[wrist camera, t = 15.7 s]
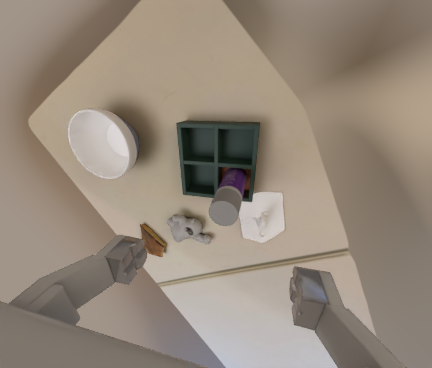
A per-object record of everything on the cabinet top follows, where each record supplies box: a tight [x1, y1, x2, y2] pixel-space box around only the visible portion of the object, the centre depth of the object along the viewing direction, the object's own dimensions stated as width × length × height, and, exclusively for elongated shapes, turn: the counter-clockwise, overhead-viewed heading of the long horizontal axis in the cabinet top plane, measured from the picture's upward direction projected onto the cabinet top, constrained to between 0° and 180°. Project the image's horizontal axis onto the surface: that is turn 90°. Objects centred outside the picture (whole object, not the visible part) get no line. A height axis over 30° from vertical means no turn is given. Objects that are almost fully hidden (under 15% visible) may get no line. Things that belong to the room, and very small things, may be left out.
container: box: [209, 168, 247, 226], centre depth 33 cm, size 5×5×15 cm
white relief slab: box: [239, 191, 285, 243], centre depth 42 cm, size 15×12×6 cm
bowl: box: [68, 108, 139, 179], centre depth 40 cm, size 14×14×8 cm
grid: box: [177, 121, 260, 202], centre depth 38 cm, size 15×15×4 cm
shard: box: [140, 224, 166, 257], centre depth 55 cm, size 11×8×2 cm
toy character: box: [168, 215, 211, 244], centre depth 48 cm, size 9×6×12 cm
